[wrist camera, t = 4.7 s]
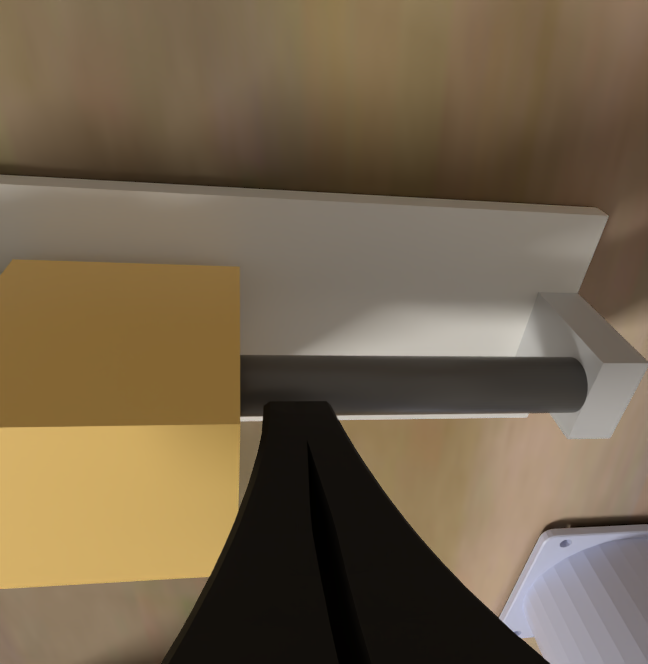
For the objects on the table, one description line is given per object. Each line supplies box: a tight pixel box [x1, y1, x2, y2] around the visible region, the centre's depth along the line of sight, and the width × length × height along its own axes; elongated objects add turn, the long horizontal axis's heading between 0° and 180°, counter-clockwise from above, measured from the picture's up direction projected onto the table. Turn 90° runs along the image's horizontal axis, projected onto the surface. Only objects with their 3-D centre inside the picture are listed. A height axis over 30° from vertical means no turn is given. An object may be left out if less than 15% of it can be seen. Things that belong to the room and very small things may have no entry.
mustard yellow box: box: [0, 259, 240, 589], centre depth 11 cm, size 5×4×5 cm
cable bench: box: [0, 175, 648, 439], centre depth 13 cm, size 18×7×5 cm, turn 84°
